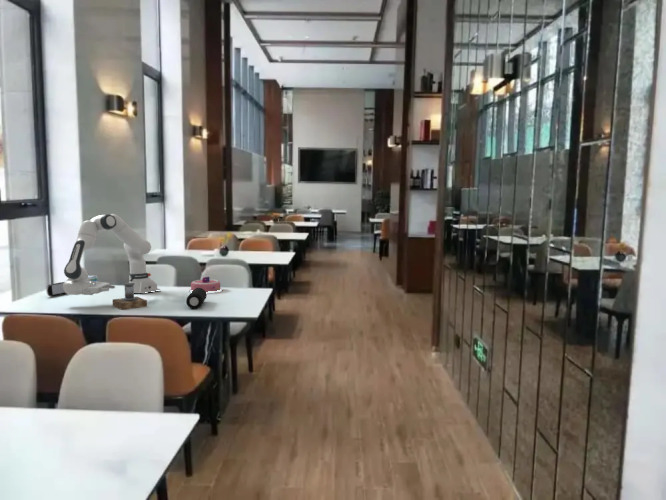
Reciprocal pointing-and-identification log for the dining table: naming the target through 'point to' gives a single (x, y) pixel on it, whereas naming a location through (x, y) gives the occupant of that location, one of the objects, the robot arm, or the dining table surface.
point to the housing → (129, 291)
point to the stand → (129, 303)
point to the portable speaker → (196, 298)
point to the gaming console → (55, 289)
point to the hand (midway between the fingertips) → (111, 288)
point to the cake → (206, 284)
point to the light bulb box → (92, 278)
